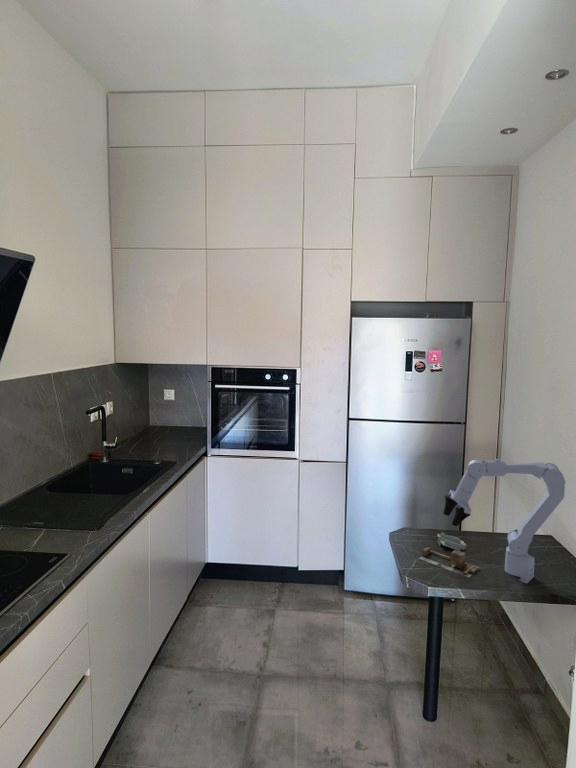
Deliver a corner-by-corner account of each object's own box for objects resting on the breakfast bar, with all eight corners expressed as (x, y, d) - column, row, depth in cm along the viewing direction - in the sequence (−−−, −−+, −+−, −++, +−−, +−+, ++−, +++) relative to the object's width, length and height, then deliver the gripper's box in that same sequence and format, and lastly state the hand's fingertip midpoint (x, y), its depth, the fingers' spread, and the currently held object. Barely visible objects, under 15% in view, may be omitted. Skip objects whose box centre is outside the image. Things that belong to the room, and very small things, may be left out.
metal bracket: (443, 541, 194) (435, 527, 209) (438, 554, 195) (431, 539, 210) (477, 554, 193) (467, 538, 208) (472, 567, 194) (462, 550, 209)
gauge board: (482, 573, 180) (482, 564, 179) (470, 582, 173) (471, 573, 172) (428, 554, 195) (428, 545, 195) (415, 561, 188) (415, 552, 188)
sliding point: (464, 565, 182) (465, 553, 182) (457, 571, 178) (457, 558, 177) (454, 562, 185) (455, 549, 185) (446, 567, 181) (447, 554, 180)
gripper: (448, 477, 189) (433, 507, 192) (465, 495, 175) (449, 527, 178) (463, 482, 191) (449, 512, 193) (481, 501, 177) (465, 532, 180)
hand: (450, 519), depth 186 cm, fingers open, 7 cm apart
